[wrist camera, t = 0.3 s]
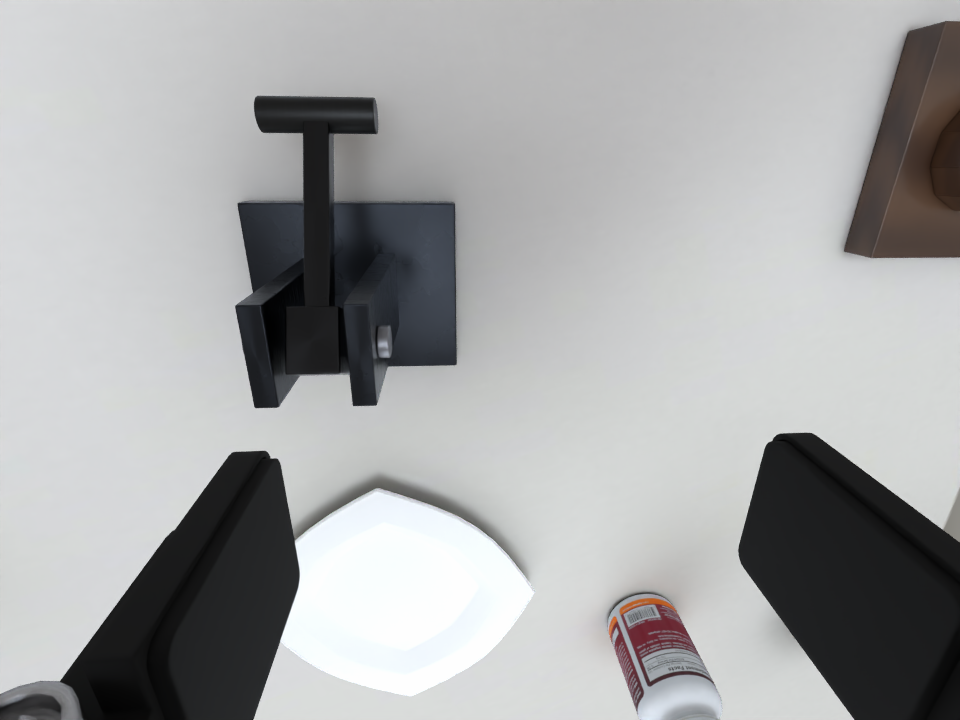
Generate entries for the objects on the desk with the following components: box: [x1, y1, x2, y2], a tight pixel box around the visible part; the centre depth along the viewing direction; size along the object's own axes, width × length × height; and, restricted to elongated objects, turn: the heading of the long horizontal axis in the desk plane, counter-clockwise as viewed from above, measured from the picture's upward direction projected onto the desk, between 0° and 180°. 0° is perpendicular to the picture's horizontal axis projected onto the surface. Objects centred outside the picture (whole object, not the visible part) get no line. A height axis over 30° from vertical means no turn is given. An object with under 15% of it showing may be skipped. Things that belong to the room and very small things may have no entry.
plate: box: [280, 488, 535, 697], centre depth 39 cm, size 19×19×2 cm
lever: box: [254, 96, 378, 376], centre depth 21 cm, size 12×5×2 cm, turn 179°
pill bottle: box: [608, 594, 722, 720], centre depth 38 cm, size 6×6×11 cm
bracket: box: [235, 201, 457, 408], centre depth 25 cm, size 10×12×12 cm
